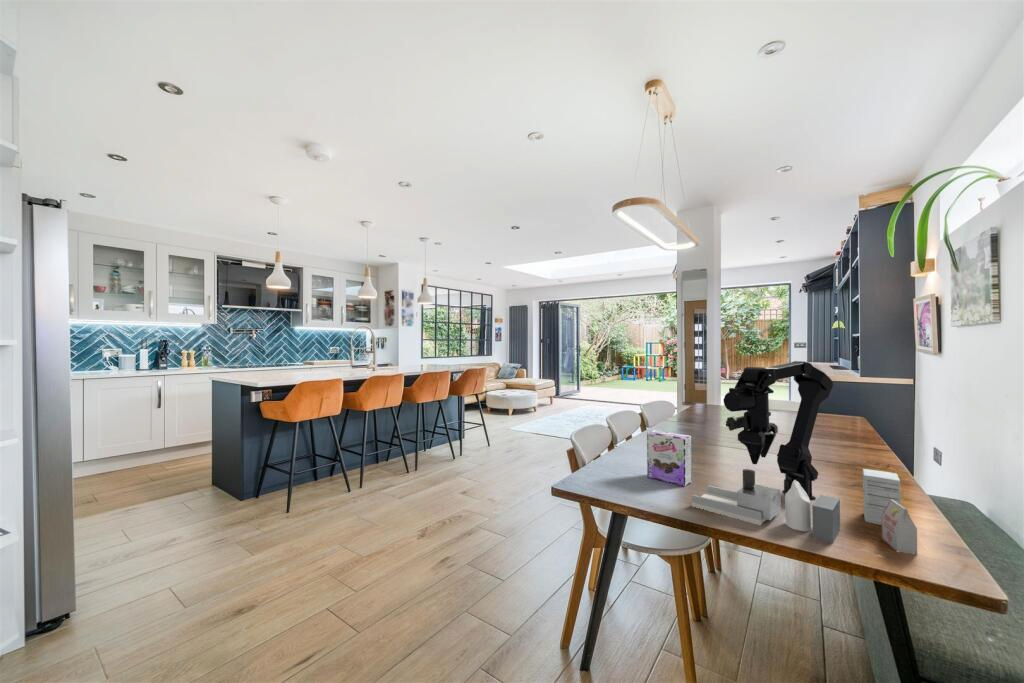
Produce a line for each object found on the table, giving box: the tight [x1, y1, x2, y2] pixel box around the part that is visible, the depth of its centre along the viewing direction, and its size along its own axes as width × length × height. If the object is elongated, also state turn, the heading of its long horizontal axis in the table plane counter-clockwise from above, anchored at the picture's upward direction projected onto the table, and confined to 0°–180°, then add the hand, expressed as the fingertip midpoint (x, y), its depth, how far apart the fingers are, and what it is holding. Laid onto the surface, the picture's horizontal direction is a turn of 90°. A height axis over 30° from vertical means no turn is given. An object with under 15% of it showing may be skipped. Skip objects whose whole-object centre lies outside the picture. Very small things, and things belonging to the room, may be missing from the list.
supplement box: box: [862, 468, 902, 526], centre depth 111 cm, size 7×7×13 cm
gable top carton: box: [881, 499, 918, 555], centre depth 97 cm, size 4×7×10 cm, turn 160°
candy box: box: [646, 429, 692, 487], centre depth 145 cm, size 14×6×16 cm, turn 45°
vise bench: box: [691, 484, 841, 544], centre depth 114 cm, size 33×13×8 cm, turn 44°
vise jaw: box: [736, 468, 782, 521], centre depth 114 cm, size 8×10×10 cm
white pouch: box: [784, 480, 812, 532], centre depth 108 cm, size 6×12×6 cm
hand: (759, 460), depth 124 cm, fingers open, 9 cm apart
